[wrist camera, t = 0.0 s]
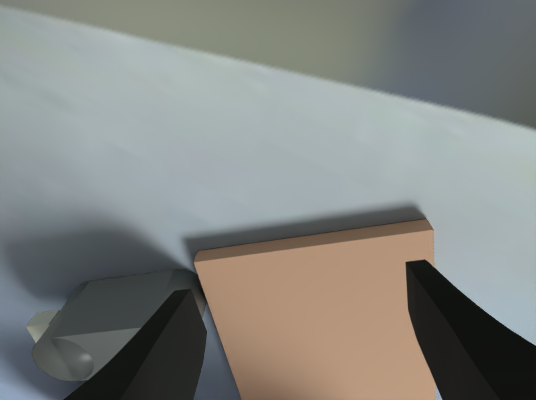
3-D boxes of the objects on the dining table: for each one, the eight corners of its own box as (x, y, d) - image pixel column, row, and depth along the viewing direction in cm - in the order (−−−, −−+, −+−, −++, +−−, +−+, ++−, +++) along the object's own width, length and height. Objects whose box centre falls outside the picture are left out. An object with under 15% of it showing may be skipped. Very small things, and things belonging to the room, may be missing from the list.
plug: (214, 308, 27) (199, 369, 23) (70, 325, 29) (29, 385, 24) (200, 266, 25) (180, 323, 21) (48, 286, 27) (0, 343, 23)
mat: (431, 398, 30) (436, 412, 29) (252, 412, 32) (251, 426, 31) (426, 218, 23) (433, 229, 22) (197, 251, 25) (193, 262, 24)
